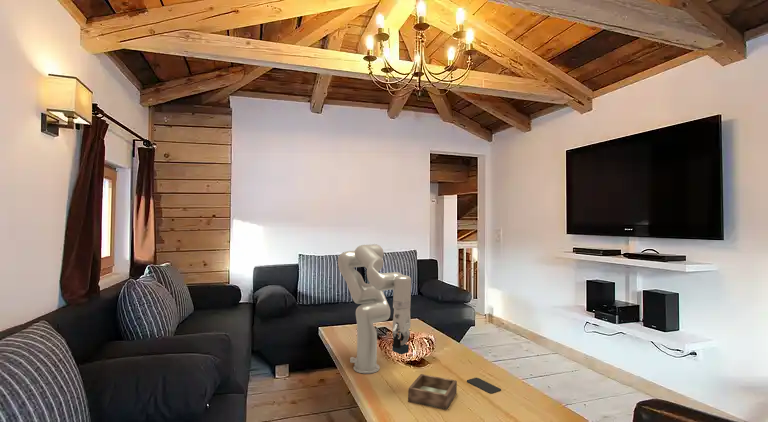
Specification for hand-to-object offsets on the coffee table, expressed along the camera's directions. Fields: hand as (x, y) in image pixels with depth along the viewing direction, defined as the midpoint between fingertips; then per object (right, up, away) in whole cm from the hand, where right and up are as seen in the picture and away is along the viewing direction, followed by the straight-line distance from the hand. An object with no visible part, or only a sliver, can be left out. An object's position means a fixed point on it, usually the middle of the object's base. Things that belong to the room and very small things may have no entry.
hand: (400, 344), depth 179 cm
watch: (0, -3, 0) cm, 3 cm away
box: (+13, -20, -7) cm, 25 cm away
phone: (+37, -21, +5) cm, 43 cm away
